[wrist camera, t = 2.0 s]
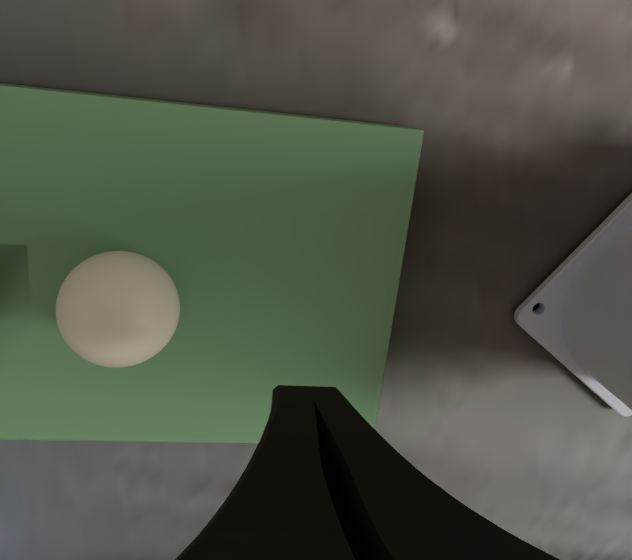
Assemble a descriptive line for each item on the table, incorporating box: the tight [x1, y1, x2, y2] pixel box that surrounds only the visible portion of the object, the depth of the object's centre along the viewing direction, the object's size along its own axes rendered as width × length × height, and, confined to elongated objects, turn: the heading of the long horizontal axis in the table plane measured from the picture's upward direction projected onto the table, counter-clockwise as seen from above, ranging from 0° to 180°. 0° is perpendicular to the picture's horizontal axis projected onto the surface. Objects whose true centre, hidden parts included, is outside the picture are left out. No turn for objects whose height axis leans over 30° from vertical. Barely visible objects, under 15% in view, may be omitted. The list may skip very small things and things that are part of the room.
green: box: [0, 83, 424, 443], centre depth 18 cm, size 24×12×2 cm, turn 84°
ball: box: [56, 251, 180, 368], centre depth 16 cm, size 4×4×4 cm
